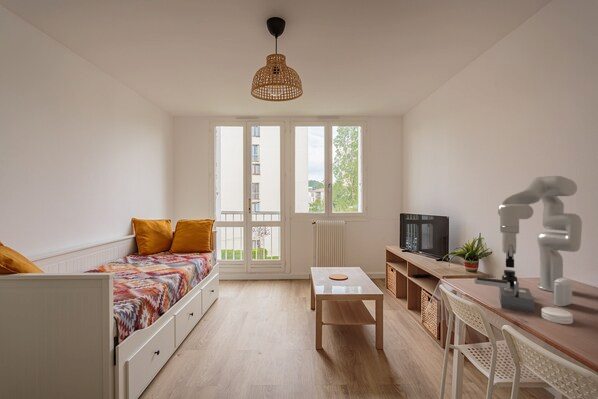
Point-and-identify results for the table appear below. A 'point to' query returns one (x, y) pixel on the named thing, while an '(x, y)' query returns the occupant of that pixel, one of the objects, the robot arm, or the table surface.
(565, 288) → the photo printer
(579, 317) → the table surface
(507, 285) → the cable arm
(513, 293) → the grey lever box
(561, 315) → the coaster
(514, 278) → the supplement bottle
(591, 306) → the table surface
